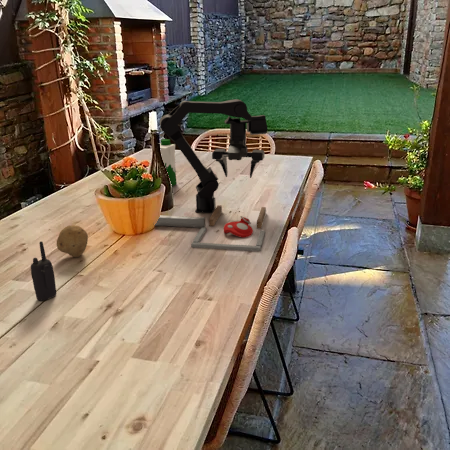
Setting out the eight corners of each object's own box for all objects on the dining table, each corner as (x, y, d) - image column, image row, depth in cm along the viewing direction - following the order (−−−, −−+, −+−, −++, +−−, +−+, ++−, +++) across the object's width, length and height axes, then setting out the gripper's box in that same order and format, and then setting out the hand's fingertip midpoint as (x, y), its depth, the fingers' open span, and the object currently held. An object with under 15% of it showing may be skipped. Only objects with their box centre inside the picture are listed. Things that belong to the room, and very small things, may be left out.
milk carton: (179, 183, 213) (177, 139, 206) (168, 189, 206) (165, 143, 198) (163, 181, 217) (160, 138, 210) (151, 186, 210) (148, 142, 202)
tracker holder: (256, 234, 154) (226, 230, 151) (252, 245, 156) (223, 241, 154) (251, 214, 164) (223, 209, 161) (248, 224, 166) (220, 220, 164)
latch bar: (154, 225, 165) (153, 217, 164) (155, 223, 167) (155, 215, 166) (204, 227, 162) (203, 219, 161) (205, 225, 164) (205, 217, 163)
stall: (209, 226, 164) (209, 219, 163) (217, 211, 178) (217, 205, 177) (261, 228, 161) (261, 221, 160) (265, 213, 174) (265, 207, 174)
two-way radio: (53, 290, 123) (43, 238, 118) (62, 296, 121) (53, 242, 115) (33, 299, 119) (23, 245, 114) (43, 305, 117) (32, 249, 111)
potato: (58, 264, 138) (53, 233, 134) (59, 252, 146) (54, 222, 142) (90, 260, 140) (86, 229, 136) (90, 248, 148) (86, 219, 144)
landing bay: (191, 247, 148) (191, 244, 147) (201, 230, 161) (201, 227, 160) (259, 251, 144) (259, 248, 143) (264, 233, 157) (264, 230, 156)
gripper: (207, 139, 166) (209, 182, 172) (260, 140, 162) (260, 184, 168) (215, 133, 176) (216, 174, 182) (264, 134, 172) (264, 175, 178)
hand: (238, 177), depth 177 cm, fingers open, 9 cm apart
